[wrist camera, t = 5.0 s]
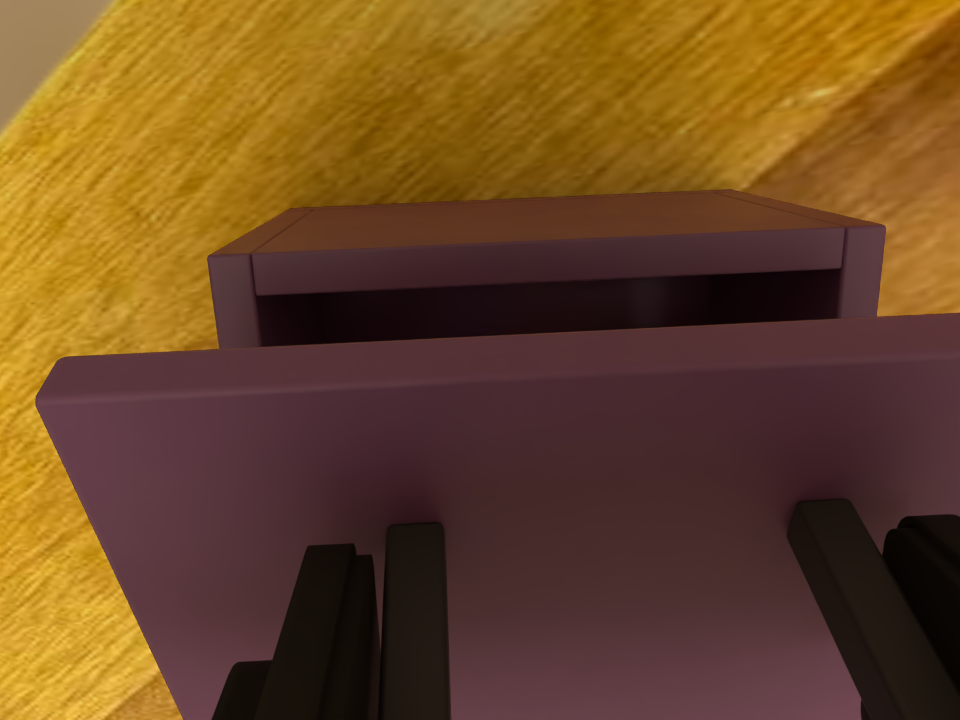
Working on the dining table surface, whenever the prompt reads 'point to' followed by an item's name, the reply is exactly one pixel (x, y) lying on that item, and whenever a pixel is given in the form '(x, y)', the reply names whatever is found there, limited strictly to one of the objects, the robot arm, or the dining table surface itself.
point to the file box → (540, 268)
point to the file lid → (540, 511)
